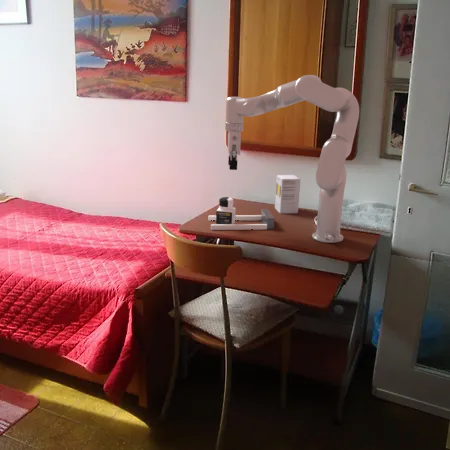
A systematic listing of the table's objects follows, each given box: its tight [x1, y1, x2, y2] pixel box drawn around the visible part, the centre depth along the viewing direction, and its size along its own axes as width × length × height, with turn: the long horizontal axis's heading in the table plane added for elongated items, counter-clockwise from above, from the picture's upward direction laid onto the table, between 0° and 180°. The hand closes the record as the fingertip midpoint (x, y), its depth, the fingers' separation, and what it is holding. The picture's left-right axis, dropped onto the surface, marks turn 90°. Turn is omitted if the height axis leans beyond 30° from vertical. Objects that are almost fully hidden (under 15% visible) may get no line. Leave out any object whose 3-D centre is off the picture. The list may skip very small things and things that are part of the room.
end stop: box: [260, 208, 275, 230], centre depth 236 cm, size 15×3×5 cm, turn 6°
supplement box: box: [274, 174, 301, 214], centre depth 257 cm, size 10×9×17 cm
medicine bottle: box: [215, 196, 237, 224], centre depth 233 cm, size 7×7×12 cm
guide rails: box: [207, 214, 268, 231], centre depth 235 cm, size 15×24×2 cm, turn 96°
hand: (232, 167), depth 229 cm, fingers open, 9 cm apart
